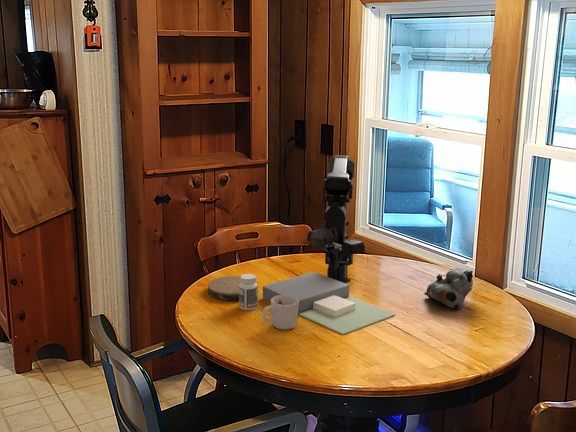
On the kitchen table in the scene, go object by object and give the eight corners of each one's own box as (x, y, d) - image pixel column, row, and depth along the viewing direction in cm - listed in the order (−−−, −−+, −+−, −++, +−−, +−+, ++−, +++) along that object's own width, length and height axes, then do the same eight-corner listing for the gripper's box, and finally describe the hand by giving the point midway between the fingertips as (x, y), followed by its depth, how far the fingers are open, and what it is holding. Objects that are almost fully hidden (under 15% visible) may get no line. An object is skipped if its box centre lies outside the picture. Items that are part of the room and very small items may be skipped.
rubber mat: (351, 297, 218) (351, 296, 218) (395, 315, 205) (395, 314, 205) (299, 315, 204) (299, 313, 204) (343, 335, 191) (343, 333, 191)
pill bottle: (259, 304, 212) (259, 273, 209) (256, 311, 206) (256, 280, 204) (240, 303, 212) (240, 272, 210) (237, 310, 207) (237, 279, 204)
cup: (268, 336, 190) (269, 308, 188) (256, 325, 196) (256, 298, 194) (303, 329, 194) (304, 302, 192) (290, 318, 201) (290, 293, 199)
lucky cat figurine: (423, 293, 223) (443, 255, 222) (457, 312, 220) (478, 273, 220) (422, 297, 208) (445, 256, 207) (459, 317, 206) (482, 275, 205)
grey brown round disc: (259, 285, 229) (259, 276, 228) (255, 303, 213) (255, 294, 212) (211, 283, 229) (211, 275, 228) (204, 301, 214) (204, 292, 213)
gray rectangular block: (314, 283, 230) (314, 271, 229) (348, 296, 219) (349, 285, 218) (262, 298, 216) (262, 286, 215) (296, 314, 205) (297, 301, 204)
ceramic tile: (333, 300, 214) (333, 294, 214) (355, 309, 208) (355, 303, 208) (313, 308, 208) (313, 302, 208) (335, 317, 202) (335, 310, 201)
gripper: (294, 216, 203) (293, 266, 207) (339, 229, 190) (337, 283, 194) (321, 210, 210) (320, 259, 214) (367, 223, 197) (364, 275, 201)
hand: (334, 269), depth 206 cm, fingers closed
